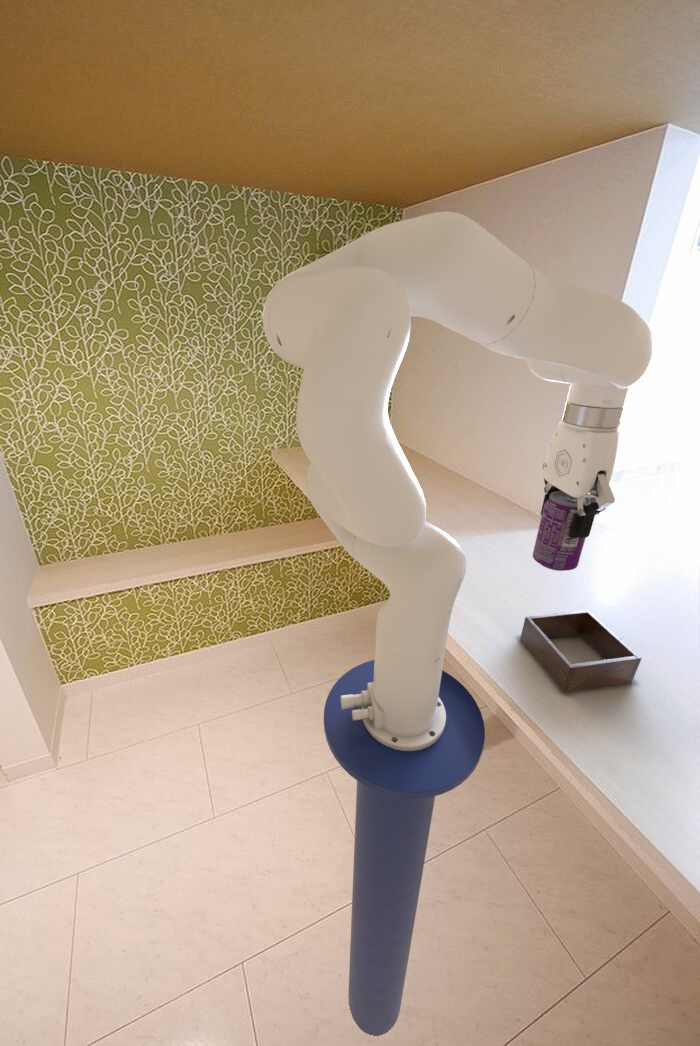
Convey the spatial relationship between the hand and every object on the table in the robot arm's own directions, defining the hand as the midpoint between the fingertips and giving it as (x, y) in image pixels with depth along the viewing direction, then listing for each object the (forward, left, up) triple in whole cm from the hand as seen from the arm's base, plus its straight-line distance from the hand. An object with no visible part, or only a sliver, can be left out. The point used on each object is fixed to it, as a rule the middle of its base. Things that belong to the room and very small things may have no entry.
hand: (563, 525), depth 71 cm
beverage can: (0, 0, -7) cm, 7 cm away
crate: (+2, -8, -22) cm, 23 cm away
